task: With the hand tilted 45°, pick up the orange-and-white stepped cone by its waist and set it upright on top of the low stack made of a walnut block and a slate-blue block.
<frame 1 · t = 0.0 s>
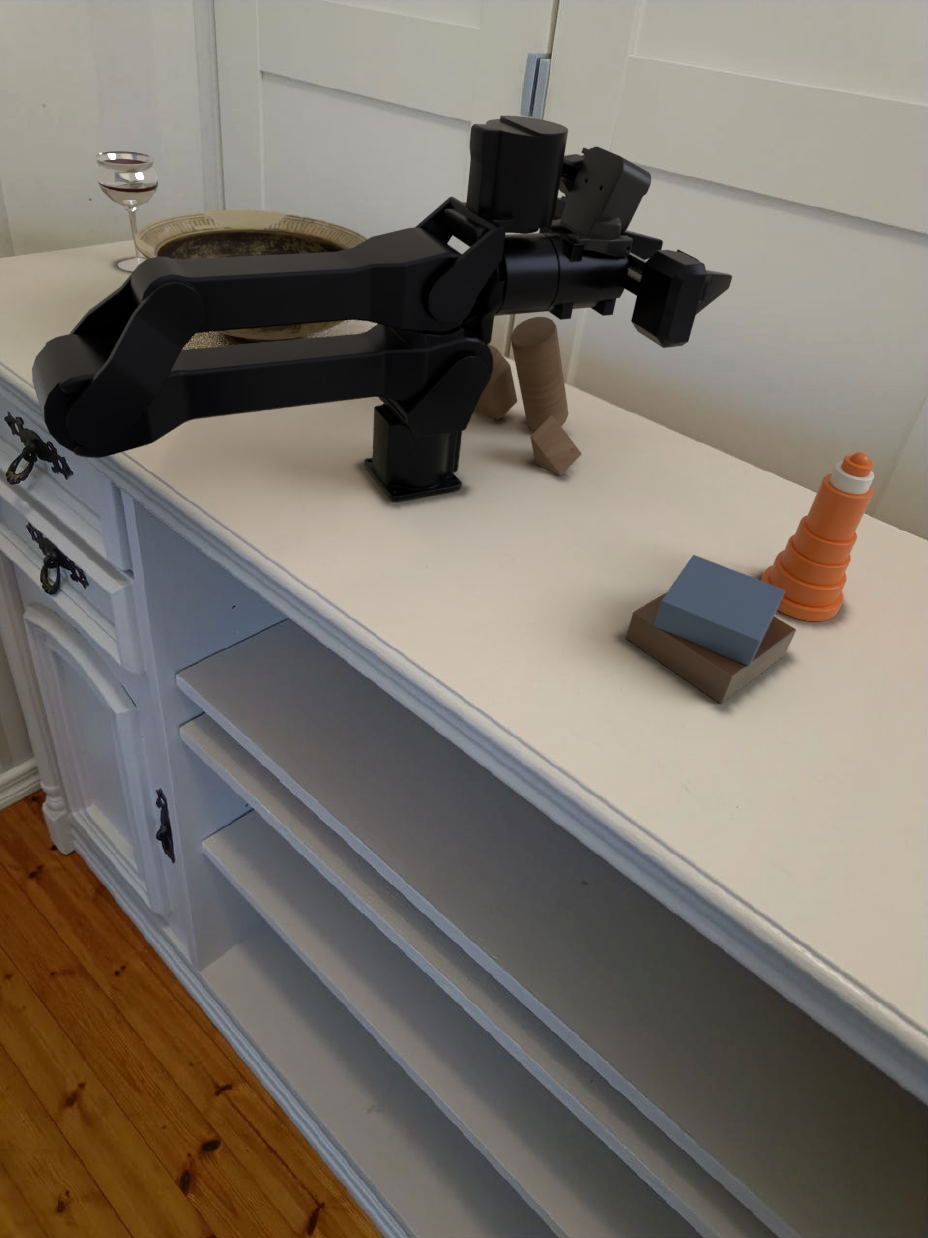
hand: (693, 262, 73), 17 cm above the sideboard, tool horizontal, fingers open, 9 cm apart
base block: (705, 646, 59), on the sideboard, touching top block
wineglass: (139, 266, 105), on the sideboard
top block: (715, 620, 58), point 2 cm above the sideboard, touching base block
ceramic bowl: (263, 338, 92), on the sideboard
cone: (798, 596, 65), on the sideboard
wooden block set: (508, 428, 82), on the sideboard
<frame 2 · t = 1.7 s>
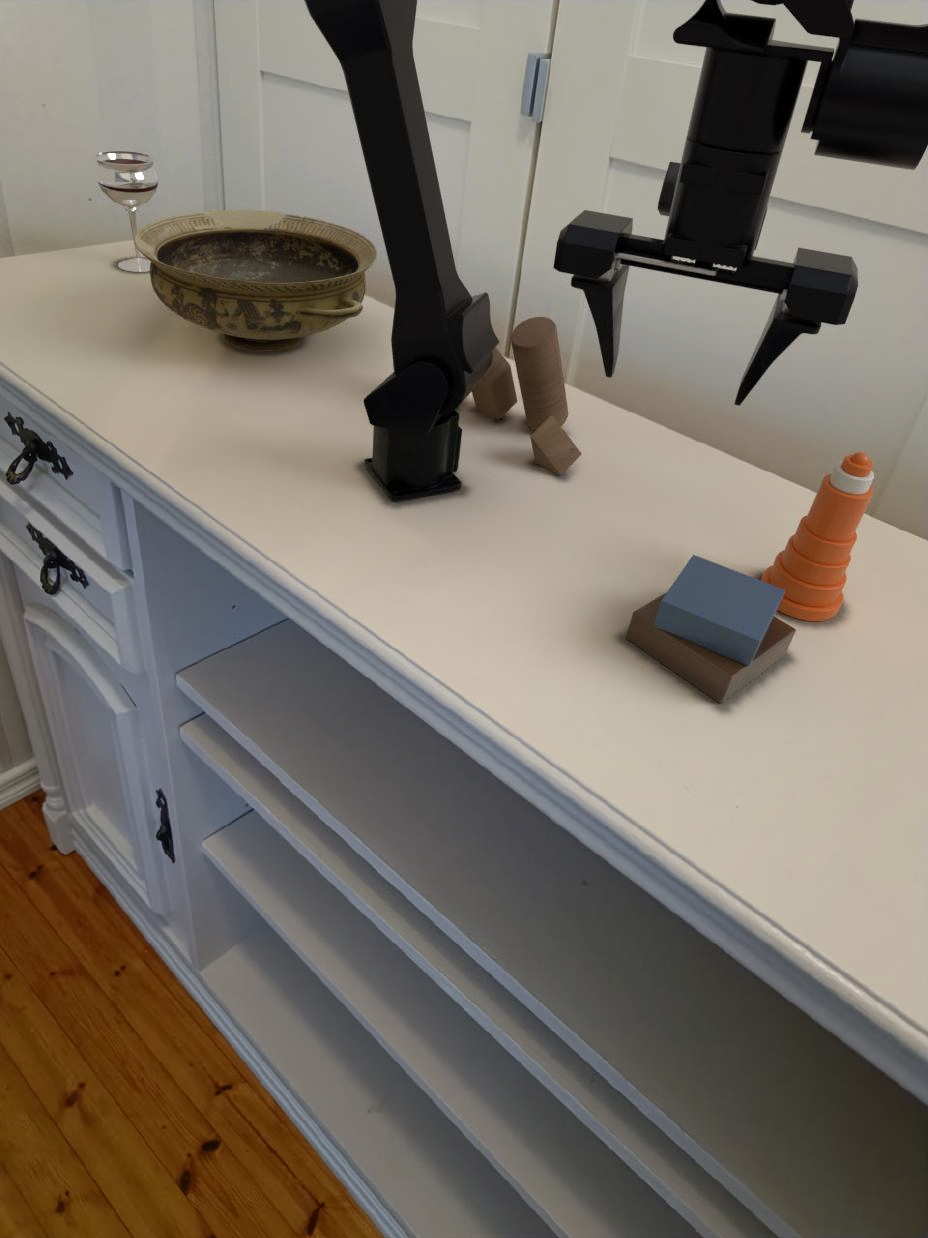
hand: (672, 388, 61), 13 cm above the sideboard, tool pointing down, fingers open, 9 cm apart
nothing on the sideboard moved.
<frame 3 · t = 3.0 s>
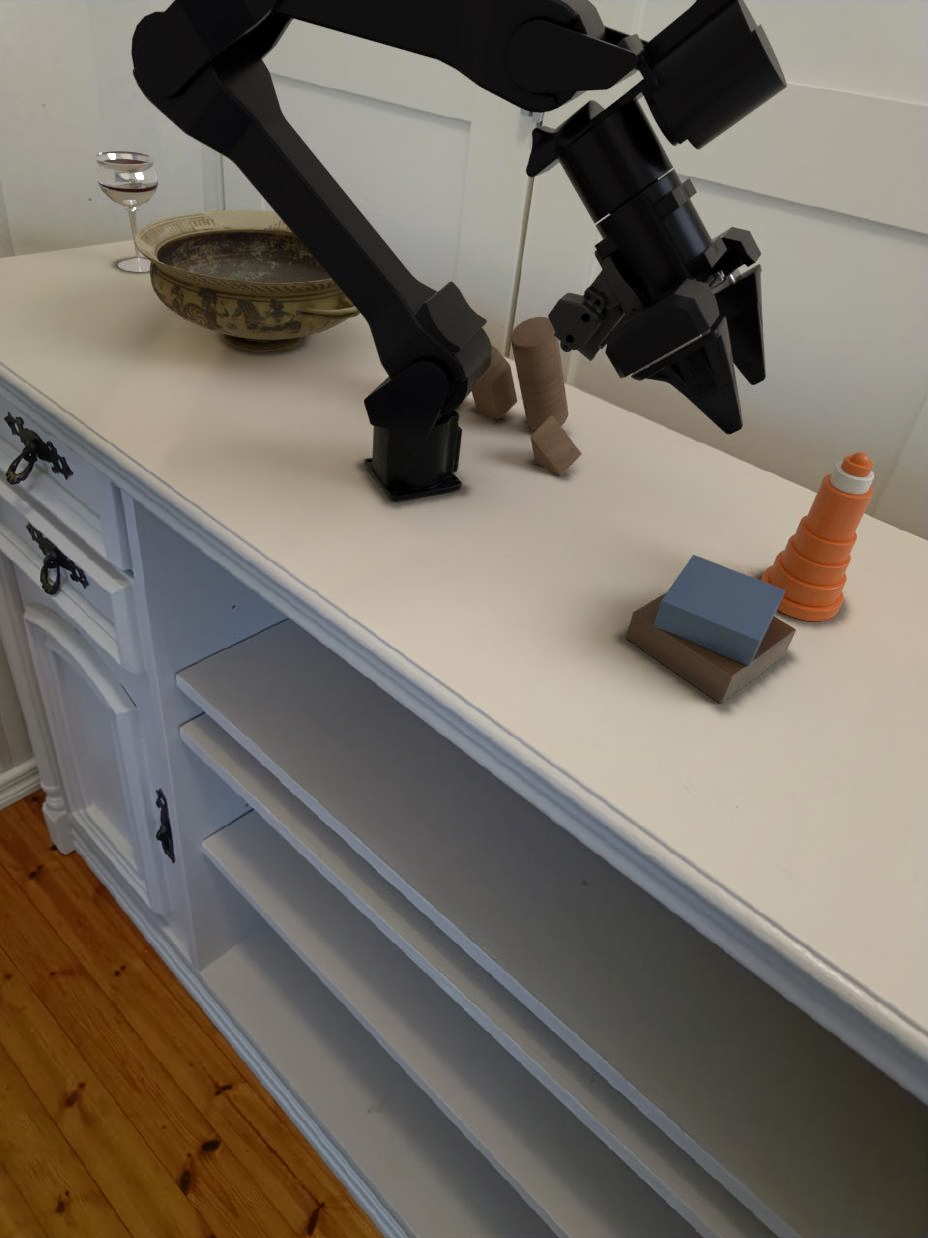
hand: (748, 405, 59), 13 cm above the sideboard, tool tilted 45°, fingers open, 9 cm apart
nothing on the sideboard moved.
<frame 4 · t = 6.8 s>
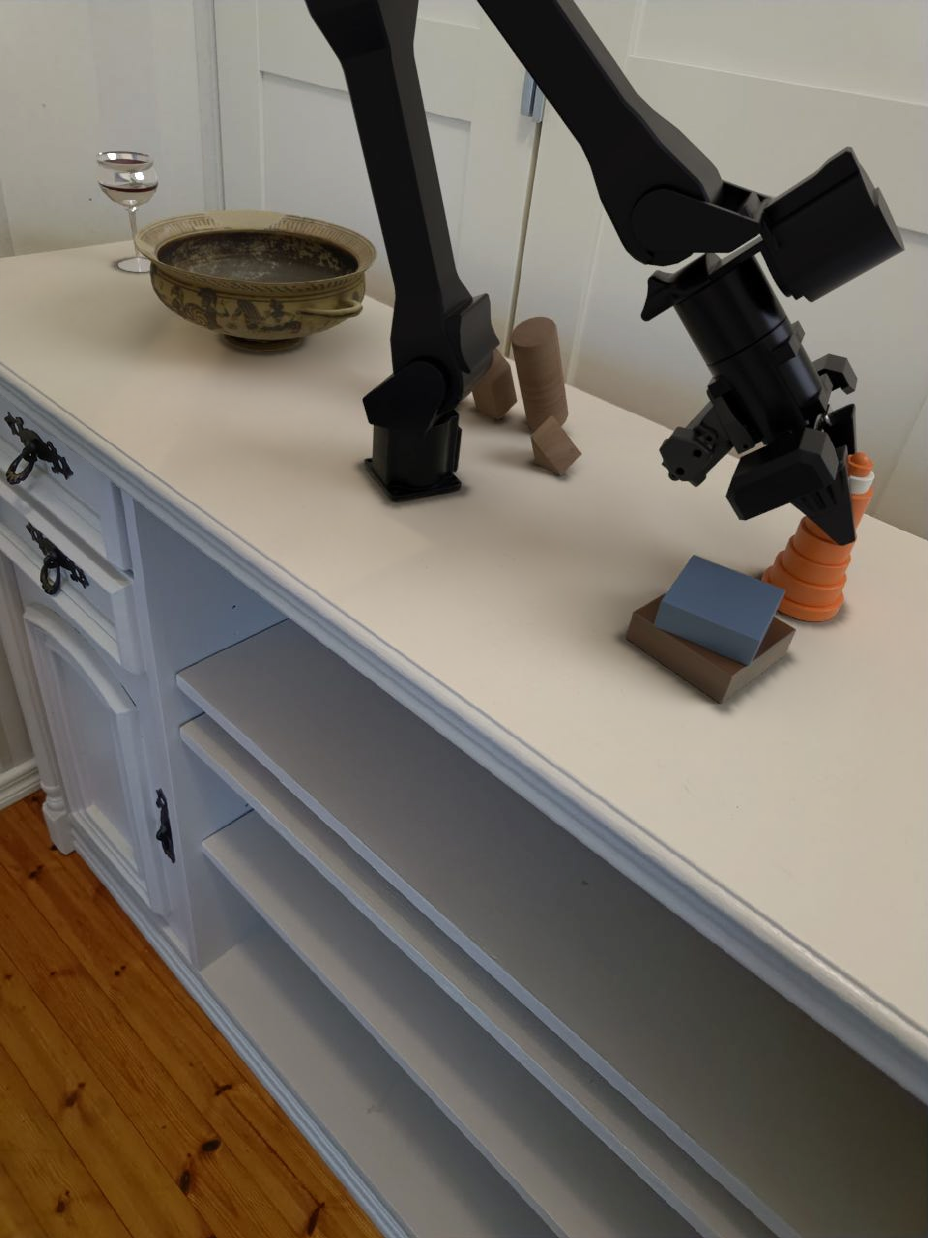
hand: (850, 530, 60), 7 cm above the sideboard, tool tilted 45°, fingers closed on cone, 3 cm apart
cone: (798, 596, 65), on the sideboard, touching gripper
everything else where it was.
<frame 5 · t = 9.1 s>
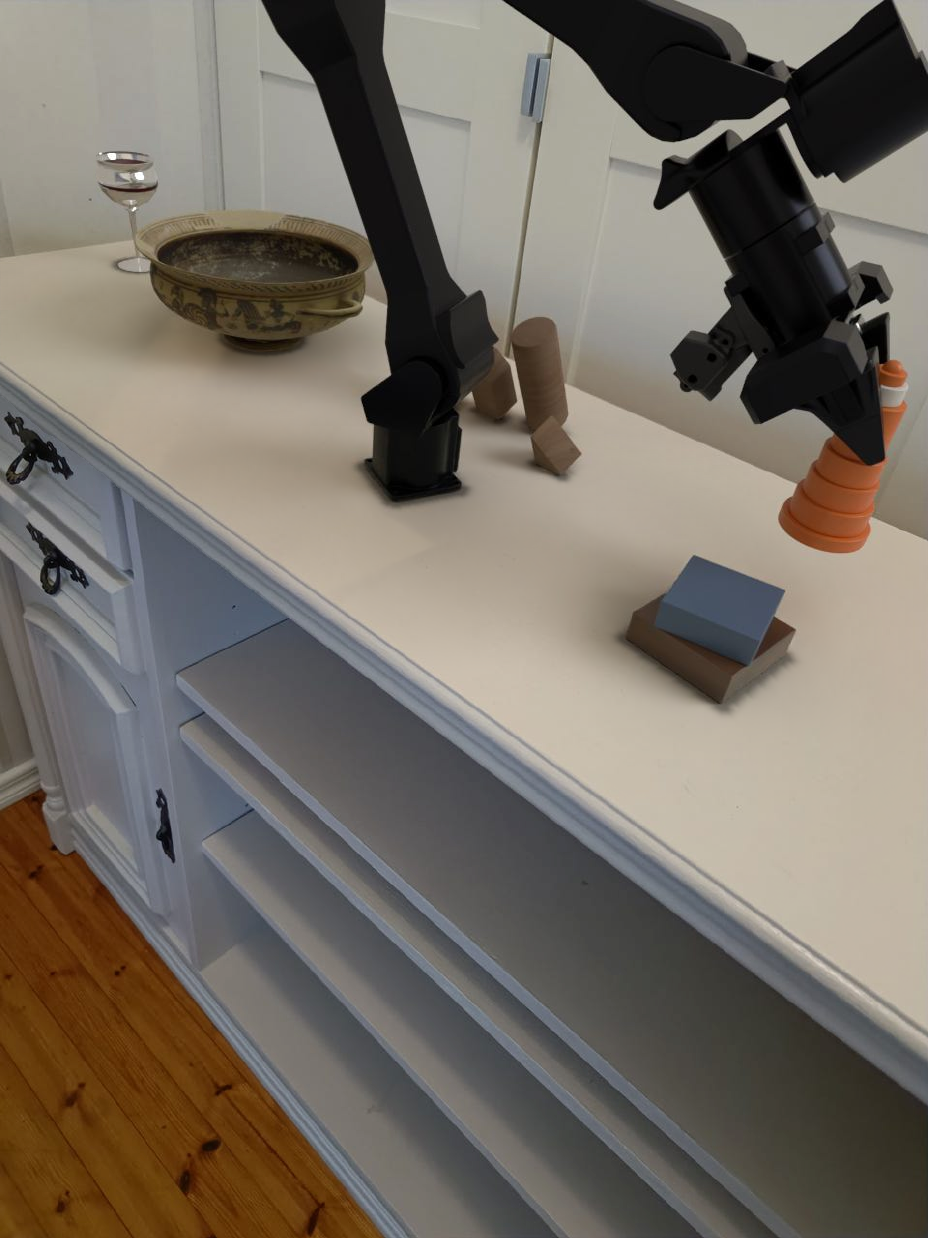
hand: (880, 451, 55), 13 cm above the sideboard, tool tilted 45°, fingers closed on cone, 3 cm apart
cone: (821, 528, 59), point 7 cm above the sideboard, touching gripper
everything else where it was.
when the fingers open (11 cm above the sideboard, at t = 11.8 s): cone stays where it is, resting on top block.
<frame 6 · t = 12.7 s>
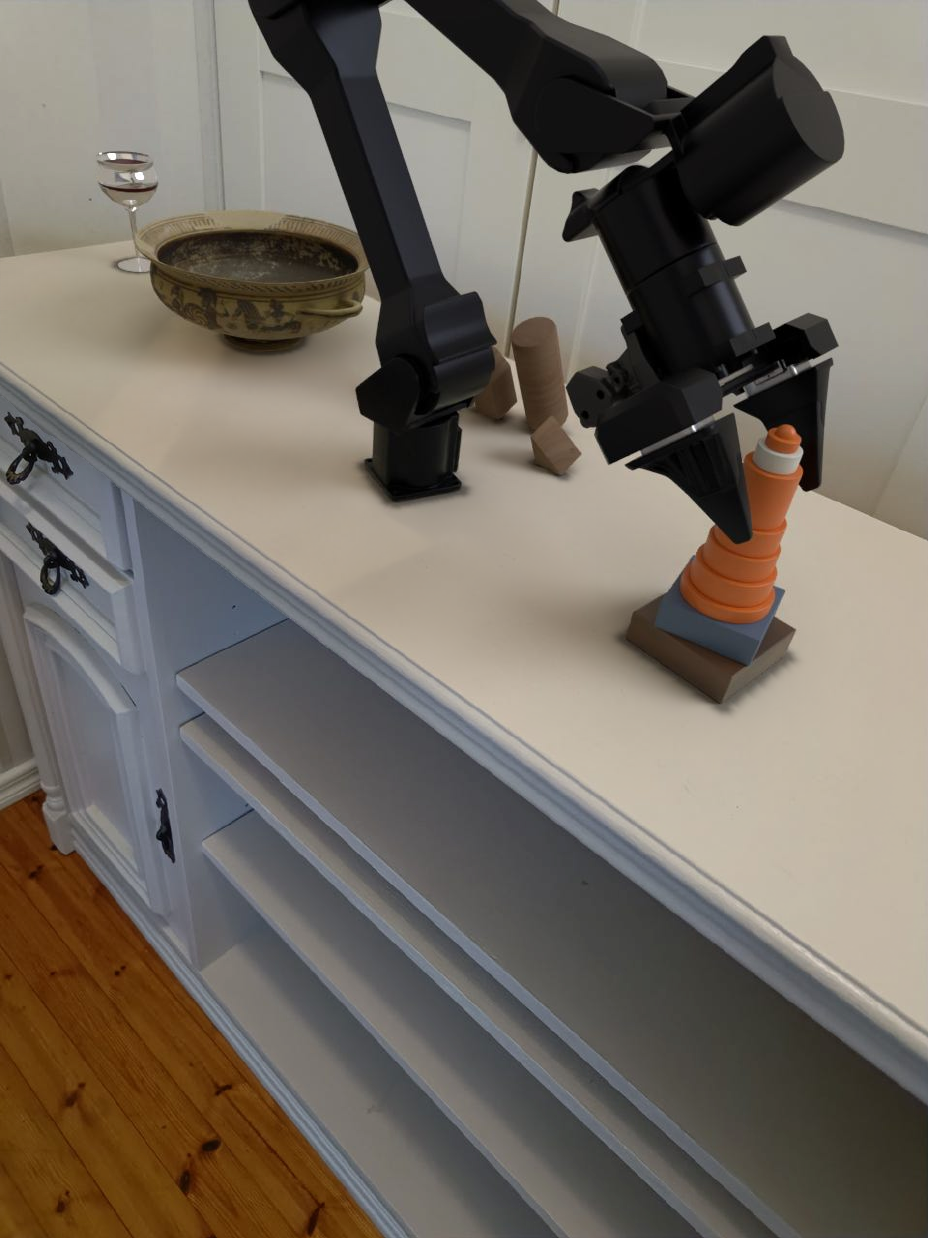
hand: (780, 514, 51), 12 cm above the sideboard, tool tilted 45°, fingers open, 9 cm apart
top block: (715, 620, 58), point 2 cm above the sideboard, touching base block, cone
cone: (724, 594, 56), point 5 cm above the sideboard, touching top block
everything else where it was.
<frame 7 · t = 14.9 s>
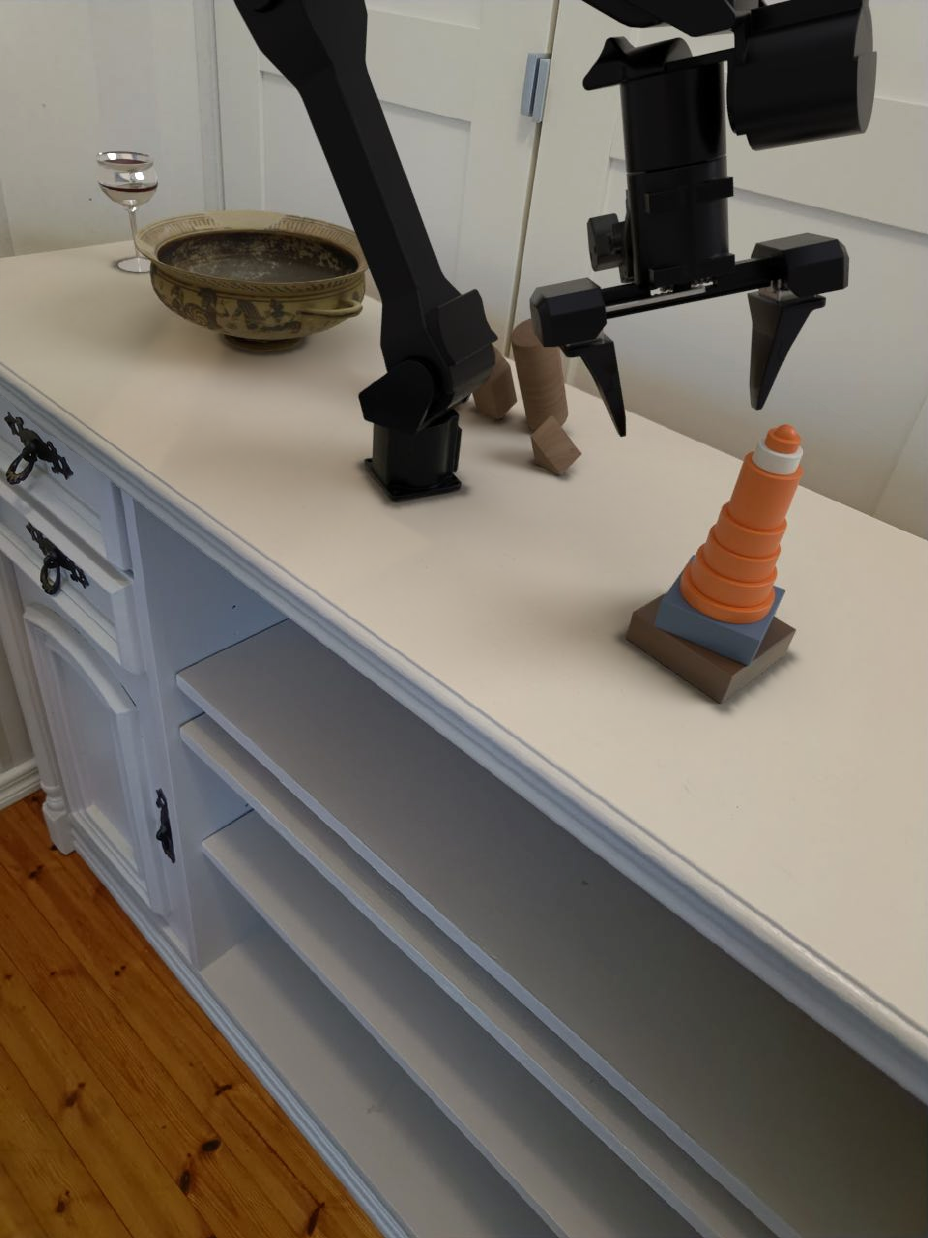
hand: (688, 421, 57), 13 cm above the sideboard, tool tilted 20°, fingers open, 9 cm apart
nothing on the sideboard moved.
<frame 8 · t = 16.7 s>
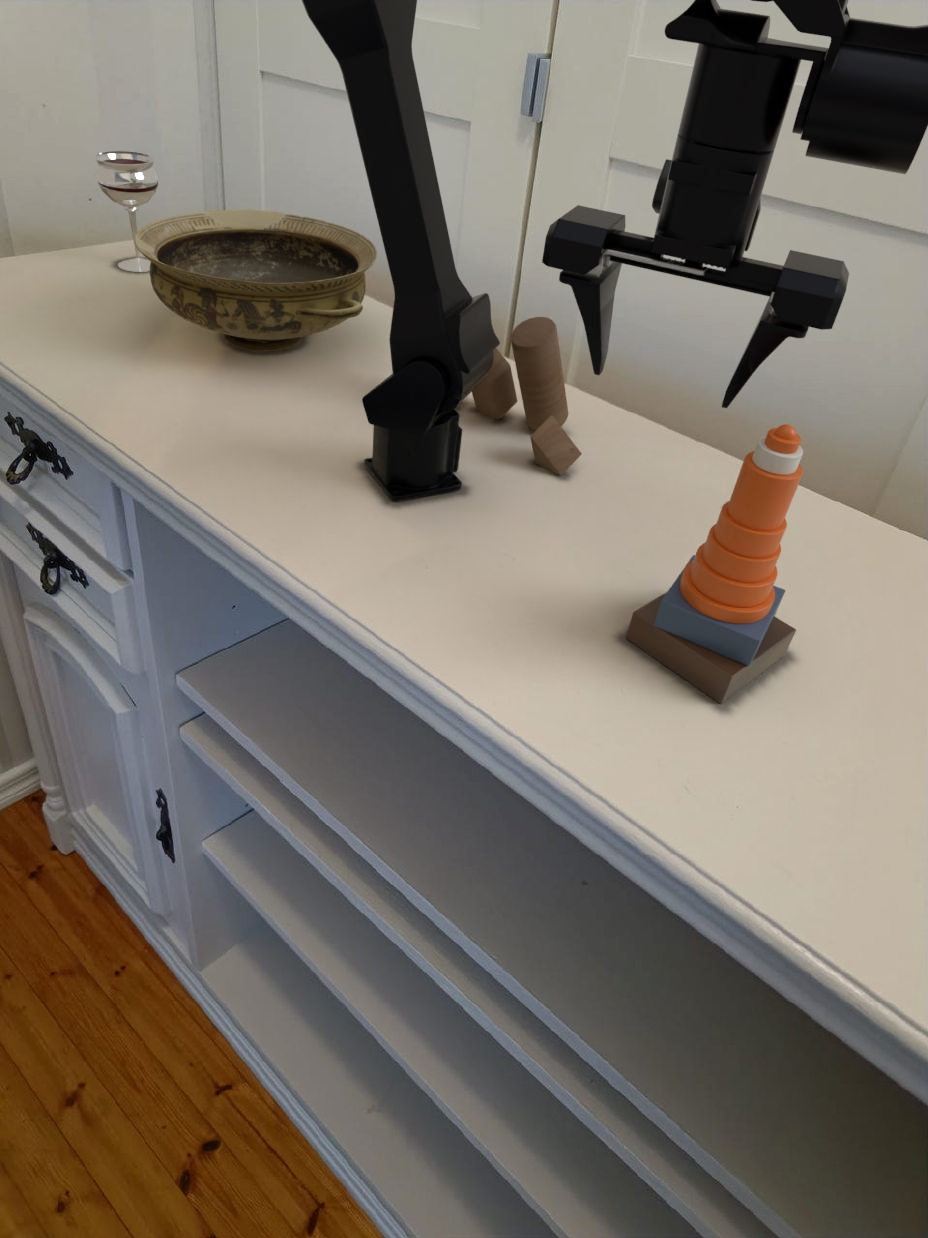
hand: (660, 389, 60), 13 cm above the sideboard, tool pointing down, fingers open, 9 cm apart
nothing on the sideboard moved.
at the end: cone 0.0 cm off-centre on the top block, point 2.2 cm above the top block's base; top block 0.0 cm off-centre on the base block, point 2.4 cm above the base block's base; cone tilted 0° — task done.
